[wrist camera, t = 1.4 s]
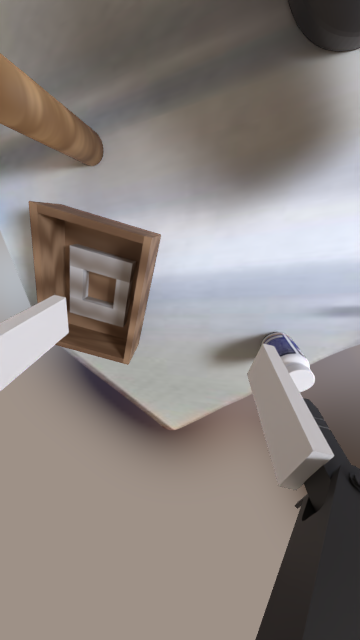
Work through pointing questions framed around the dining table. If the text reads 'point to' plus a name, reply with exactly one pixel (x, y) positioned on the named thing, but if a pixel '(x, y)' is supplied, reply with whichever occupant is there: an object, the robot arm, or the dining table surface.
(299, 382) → the pill bottle
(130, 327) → the box
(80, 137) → the dowel
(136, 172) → the dining table surface
